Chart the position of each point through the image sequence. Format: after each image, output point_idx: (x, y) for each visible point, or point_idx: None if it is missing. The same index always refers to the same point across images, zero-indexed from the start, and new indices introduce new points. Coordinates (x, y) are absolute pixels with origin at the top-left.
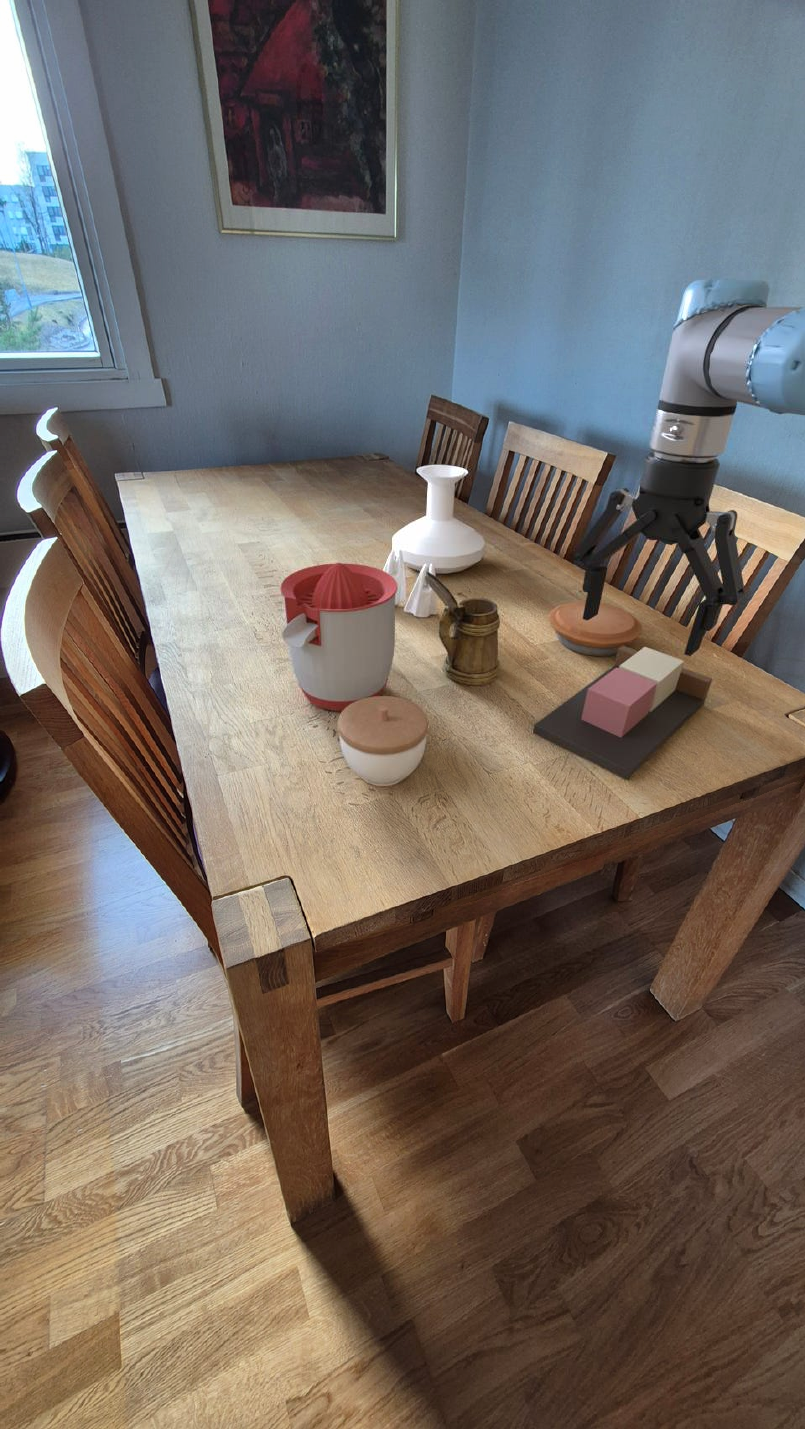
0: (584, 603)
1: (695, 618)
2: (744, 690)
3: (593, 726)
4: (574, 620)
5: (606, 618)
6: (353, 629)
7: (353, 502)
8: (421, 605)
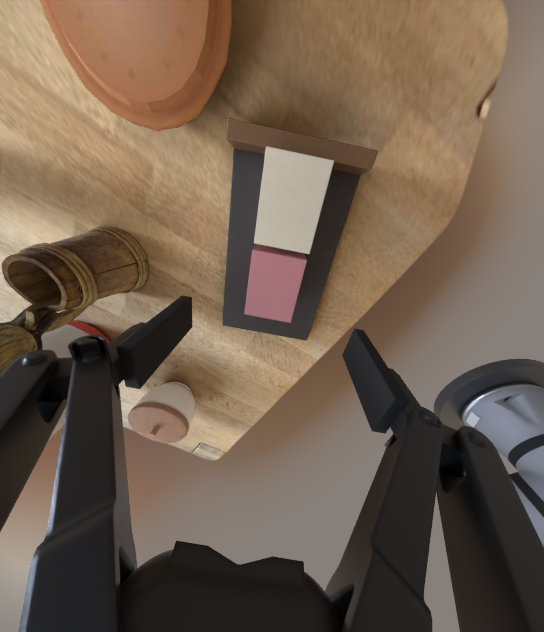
0: None
1: (361, 402)
2: (428, 53)
3: None
4: (111, 59)
5: None
6: (51, 435)
7: None
8: None
